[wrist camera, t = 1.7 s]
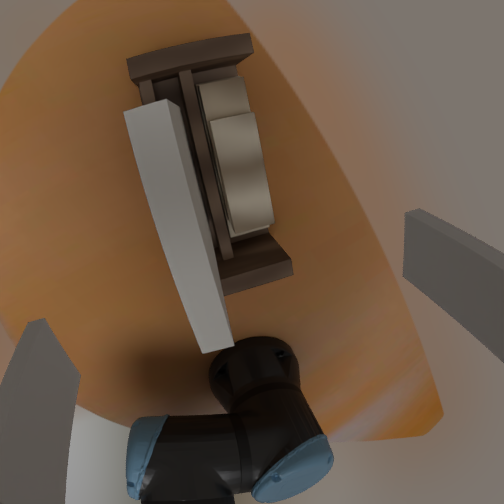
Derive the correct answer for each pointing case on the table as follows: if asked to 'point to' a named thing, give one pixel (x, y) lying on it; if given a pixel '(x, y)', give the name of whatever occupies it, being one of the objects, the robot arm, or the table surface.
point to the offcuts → (235, 155)
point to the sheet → (180, 217)
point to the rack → (184, 95)
